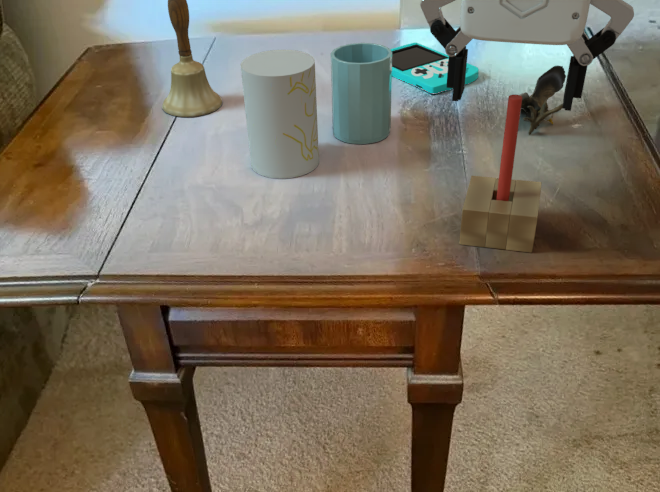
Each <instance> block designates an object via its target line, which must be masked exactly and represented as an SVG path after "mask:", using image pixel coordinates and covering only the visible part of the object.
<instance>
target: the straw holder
mask: <svg viewBox="0 0 660 492" xmlns="http://www.w3.org/2000/svg"><path fill="white" fill-rule="evenodd" d="M498 181H499V177H492V176H491V177H490V176H480V175H471V176H470V180H469V184H468V187H467V190H466V195H465V199H464V202H463V204H462V205H463V206H462V209H461V222H460V231H459V243H458V245H462V246H470V247H479V248H488V249H489V248H490V249H497V250H506V251H513V252H514V251H515V252H522V253H531V254H532V253H533V249H534V242H535V236H536V231H537V226H538V225H537V224H538V219H539V210H540V201H541V193H542V186H543V185H542V181H533V180H522V179H512V180H511V187H510V195H509V201H501V200H496V198H497V189H498Z"/></svg>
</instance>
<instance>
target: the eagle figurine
mask: <svg viewBox="0 0 660 492" xmlns="http://www.w3.org/2000/svg"><path fill="white" fill-rule="evenodd" d="M566 79H567V75H566V70H565V67H563V65H554V66H552V67H550V68H549V69H548V70H546V71H545V72H544V73H542V75H540V76H539V77H538V78H537V79H536V83H535V86H534V89H533V93H532V94H529V93H528V92H523V93H521V94H519V95H520V96H522V104H521V110H523V111H525V114H526V116H525V117H524V116H523V118H522V120H524V121H528V122H529V123H530V125H529V130H528V133H527V134H528V136H530V135H532V133H533V132H534V131H535V130H537V128H538V127H539V126H540V124H541V123H542V121H547V122H548V123H549V124H551V125H552V126H553V125H554V121H553V114H556V113H558V112H559V111H561V110H563V103H561V104H559V105H558V106H556V107H554V108H552V109H549V105H548V100H549V99H550V98H551V97H554V95H555V94H556V93H558V92H560V91H561V90H562V89H563V87H564V83H566Z"/></svg>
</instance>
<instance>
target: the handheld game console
mask: <svg viewBox="0 0 660 492" xmlns="http://www.w3.org/2000/svg"><path fill="white" fill-rule="evenodd" d="M389 49H390V50H391V52H392V78H395V79H397V80H399V79H400V81H401V80H402V81H401V82H403V81H405V82H404V83H406V82H407V83H406V84H408V83H410V84H413V85H415V86H417V87H419V88H422V89H424V90H426V91H428V92H430V93H438V92H441V91H445V90H448V91H451V90H450V89H452V88H447V73H448V61H449V56H448V55H447V54H446V53H443V52H441V51H438V50H436V49H434V48H431V47H429V46H426V45H423V44H421V43H420V42H416V41H415V42H411V43H408V44H402V45H399V46H397V47H392V48H389ZM479 70H480V69H479V67H477V66H475V65H473V64H471V63H468V62H467V66H466V76H465V84H467V85H469V84H468V83H470V84H472V83H474V82H476V80H478V79H477V78H479V72H480V71H479ZM473 81H474V82H473ZM471 82H472V83H471ZM410 84H409V85H410ZM452 90H453V89H452ZM445 92H446V91H445Z"/></svg>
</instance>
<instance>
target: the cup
mask: <svg viewBox="0 0 660 492" xmlns="http://www.w3.org/2000/svg"><path fill="white" fill-rule="evenodd" d="M240 73H241V82H242V90H243V91H242V92H243V93H242V94H243V101H244V111H245V112H244V113H245V120H246V132H247V140H248V148H249V149H248V150H249V159H250V167H251V169H252V170H253V172H255V173H256V174H258V175H259V176H262V177H266V178H269V179H279V180H281V179H282V180H283V179H292V178H293V179H294V178H298V177H302V176H305V175H307V174H309V173H311V172H313V171H314V170H316V168H317V167H318V166H319V164H320V153H319V152H320V151H319V130H318V129H319V128H318V125H319V124H318V108H317V107H318V106H317V105H318V103H317V82H316V80H317V79H316V60H315V58H314V56H313V55H311V54H310V53H307V52H304V51H302V50H295V49H272V50H265V51H260V52H256V53H253V54H250V55H248V56H246V57H245V58H244V59H243V60H242V61H241V62H240Z"/></svg>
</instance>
